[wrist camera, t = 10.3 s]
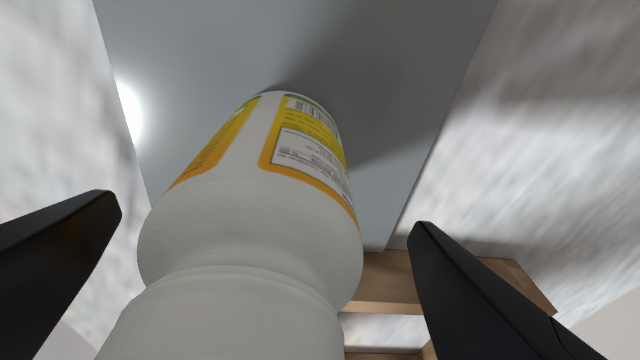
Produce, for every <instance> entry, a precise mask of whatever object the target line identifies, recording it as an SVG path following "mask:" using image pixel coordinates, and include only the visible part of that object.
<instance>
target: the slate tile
mask: <svg viewBox="0 0 640 360" xmlns="http://www.w3.org/2000/svg"><path fill="white" fill-rule="evenodd" d="M92 1H93V5H94V8H95V12H96V15H97V19H98V22H99V26H100V29H101V33H102V36H103V40H104V43H105V47H106V50H107V54H108V57H109V61H110V64H111V68H112V71H113V75H114V78H115V82H116V85H117V89H118V92H119V96H120V99H121V103H122V106H123V110H124V113H125V117H126V120H127V124H128V127H129V131H130V134H131V138H132V141H133V145H134V148H135V152H136V155H137V159H138V162H139V166H140V169H141V173H142V176H143V180H144V183H145V187H146V190H147V194H148V197H149V201H150V204H151V208H153V207H154V206H155V204H156V203H157V202H158V200H159V199H160V198H161V197H162V195H163V194H164V193H165V192H166V191H167V190H168V188H169V187H170V186H171V185H172V184H173V182H174V181H175V180H176V179H177V178H178V177H179V176H180V174H181V173H182V172H183V171H184V170H185V169H186V168H187V166H188V165H189V164H190V163H191V162H192V161H193V160H194V158H195V157H196V156H197V155H198V154H199V152H200V151H201V150H202V149H203V148H204V147H205V145H206V144H207V143H208V142H209V141H210V140H211V139H212V137H213V136H214V135H215V134H216V133H217V132H218V130H219V129H220V128H221V127H222V126H223V124H224V123H225V122H226V121H227V120H228V119H229V117H230V116H231V115H232V114H233V113H234V112H235V111H236V109H237V108H238V107H239V106H240V105H241V104H243V103H244V102H245V101H247V100H248V99H250V98H252V97H254V96H256V95H258V94H261V93H265V92H269V91H289V92H294V93H298V94H301V95H304V96H306V97H308V98H310V99H312V100H314V101H315V102H317V103H318V104H319V105H320V106H322V107H323V108H324V109H325V110H326V111H327V113H328V114H329V115H330V116H331V117H332V119H333V121H334V122H335V124H336V126H337V128H338V131H339V134H340V138H341V142H342V146H343V152H344V157H345V161H346V166H347V171H348V176H349V181H350V186H351V190H352V195H353V200H354V205H355V210H356V215H357V220H358V225H359V230H360V235H361V240H362V246H363V251H370V252H382V253H383V251H384V249H385V247H386V244H387V242H388V240H389V238H390V236H391V233H392V231H393V229H394V227H395V225H396V222H397V220H398V218H399V216H400V214H401V212H402V209H403V207H404V205H405V203H406V201H407V198H408V196H409V194H410V192H411V190H412V187H413V185H414V183H415V181H416V179H417V177H418V174H419V172H420V170H421V168H422V166H423V163H424V161H425V159H426V157H427V155H428V152H429V150H430V148H431V146H432V144H433V141H434V139H435V137H436V135H437V133H438V131H439V128H440V126H441V124H442V122H443V120H444V117H445V115H446V113H447V111H448V109H449V106H450V104H451V102H452V100H453V98H454V96H455V93H456V91H457V89H458V87H459V85H460V82H461V80H462V78H463V76H464V74H465V71H466V69H467V67H468V65H469V63H470V61H471V58H472V56H473V54H474V52H475V50H476V47H477V45H478V43H479V41H480V39H481V36H482V34H483V32H484V30H485V28H486V25H487V23H488V21H489V19H490V17H491V15H492V12H493V10H494V8H495V6H496V4H497V1H498V0H92Z"/></svg>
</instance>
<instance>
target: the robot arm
mask: <svg viewBox="0 0 640 360" xmlns="http://www.w3.org/2000/svg"><path fill="white" fill-rule="evenodd" d="M121 218H122V212H121V209H120V206H119V204H118V201H117V198H116V196H115V194H114V193H113V192H112V191H109V190H100V189H94V190H91V191H88V192H85V193H83V194H80V195H77V196H75V197H72V198H69V199H67V200H64V201H61V202H59V203H56V204H53V205H51V206H48V207H45V208H43V209H40V210H37V211H35V212H32V213H29V214H27V215H24V216H21V217H19V218H16V219H13V220H11V221H8V222H5V223H3V224H0V360H32V359H33V358H34V357H35V355H36V354H37V352H38V351H39V349H40V348H41V346H42V345H43V343H44V342H45V341H46V339H47V338H48V336H49V335H50V333H51V332H52V330H53V329H54V327H55V326H56V325H57V323H58V322H59V320H60V319H61V317H62V316H63V314H64V313H65V311H66V310H67V309H68V307H69V306H70V304H71V303H72V301H73V300H74V298H75V297H76V295H77V294H78V293H79V291H80V290H81V288H82V287H83V285H84V284H85V282H86V281H87V279H88V278H89V276H90V275H91V273H92V272H93V270H94V269H95V267H96V265H97V264H98V262H99V260H100V258H101V256H102V255H103V253H104V251H105V249H106V247H107V245H108V243H109V242H110V240H111V238H112V236H113V234H114V232H115V231H116V229H117V227H118V225H119V223H120V221H121ZM407 247H408V252H409V257H410V262H411V267H412V273H413V278H414V283H415V287H416V291H417V295H418V298H419V301H420V305H421V308H422V311H423V314H424V318H425V321H426V324H427V327H428V331H429V334H430V337H431V341H432V344H433V347H434V350H435V354H436V357H437V360H608V359H606V358H605V357H604V356H602V355H601V354H600V353H598V352H597V351H595V350H594V349H593V348H591V347H590V346H589V345H587V344H586V343H585V342H584V341H582V340H581V339H580V338H578V337H577V336H576V335H574V334H573V333H572V332H571V331H569V330H568V329H567V328H565V327H564V326H563V325H562V324H560V323H559V322H558V321H557V320H555V319H554V318H553V317H551V316H548V314H547V313H546V312H545V311H544V310H543V309H541V308H540V307H539V306H537V305H536V304H535V303H534V302H532V301H531V300H530V299H528V298H527V297H526V296H525V295H523V294H522V293H521V292H520V291H518V290H517V289H516V288H514V287H513V286H512V285H511V284H509V283H508V282H507V281H506V280H504V279H503V278H502V277H500V276H499V275H498V274H497V273H495V272H494V271H493V270H492V269H490V268H489V267H488V266H486V265H485V264H484V263H483V262H481V261H480V260H479V259H477V258H476V257H475V256H474V255H472V254H471V253H470V252H469V251H467V250H466V249H465V248H463V247H462V246H461V245H460V244H458V243H457V242H456V241H455V240H453V239H452V238H451V237H449V236H448V235H447V234H446V233H444V232H443V231H442V230H441V229H439V228H438V227H437V226H435V225H434V224H433V223H431V222H429V221H417V222H416V223H415V225H414V227H413V228H412V230H411V232H410V234H409V236H408V239H407Z"/></svg>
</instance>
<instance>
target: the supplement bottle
mask: <svg viewBox="0 0 640 360" xmlns="http://www.w3.org/2000/svg"><path fill="white" fill-rule="evenodd" d="M137 262H138V267H139V271H140V274H141V277H142V280H143V282H144V284H145V285H146V287H147V288H146V289H145V290H144V291H143V292H142V293H141V294H140V295H138V296H137V297H135V298H134V299H132V300H131V301H130V302H129V304H128V305H127V306H126V307H125V308H124V310H123V311H122V312H121V314H120V316H119V318H118V320H117V322H116V325H115V326H114V328H113V330H112V331H111V333H110V335H109V336H108V338H107V339H106V341H105V343H104V344H103V346H102V347H101V349H100V351H99V352H98V354H97V356H96V357H95V359H94V360H345V357H344V333H343V330H342V327H341V325H340V323H339V320H338V316H337V314H338V313H339V312H340V311H341V310H342V309H343V308H344V307H345V306H346V305H347V303H348V302H349V301H350V299H351V298H352V296H353V295H354V293H355V291H356V289H357V287H358V284H359V282H360V278H361V275H362V270H363V246H362V240H361V235H360V230H359V225H358V220H357V215H356V210H355V205H354V200H353V195H352V190H351V186H350V181H349V176H348V171H347V166H346V161H345V157H344V152H343V146H342V142H341V138H340V134H339V131H338V128H337V126H336V124H335V122H334V121H333V119H332V117H331V116H330V115H329V114H328V113H327V111H326V110H325V109H324V108H323V107H322V106H320V105H319V104H318V103H317V102H315V101H314V100H312V99H310V98H308V97H306V96H304V95H301V94H298V93H294V92H289V91H269V92H265V93H261V94H258V95H256V96H254V97H252V98H250V99H248V100H247V101H245V102H244V103H243V104H241V105H240V106H239V107H238V108H237V109H236V111H235V112H234V113H233V114H232V115H231V116H230V117H229V119H228V120H227V121H226V122H225V123H224V124H223V126H222V127H221V128H220V129H219V130H218V132H217V133H216V134H215V135H214V136H213V137H212V139H211V140H210V141H209V142H208V143H207V144H206V145H205V147H204V148H203V149H202V150H201V151H200V152H199V154H198V155H197V156H196V157H195V158H194V160H193V161H192V162H191V163H190V164H189V165H188V166H187V168H186V169H185V170H184V171H183V172H182V173H181V174H180V176H179V177H178V178H177V179H176V180H175V181H174V182H173V184H172V185H171V186H170V187H169V188H168V190H167V191H166V192H165V193H164V194H163V195H162V197H161V198H160V199H159V200H158V202H157V203H156V204H155V206H154V207H153V208H152V210H151V211H150V213H149V214H148V216H147V218H146V219H145V221H144V224H143V226H142V229H141V231H140V235H139V239H138V246H137Z"/></svg>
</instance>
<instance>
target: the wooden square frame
mask: <svg viewBox="0 0 640 360" xmlns="http://www.w3.org/2000/svg"><path fill="white" fill-rule="evenodd" d="M476 258H477V259H479V260H480V261H481V262H483V263H484V264H485V265H486V266H488V267H489V268H490V269H492V270H493V271H494V272H495V273H497V274H498V275H499V276H500V277H502V278H503V279H504V280H506V281H507V282H508V283H509V284H511V285H512V286H513V287H514V288H516V289H517V290H518V291H520V292H521V293H522V294H523V295H525V296H526V297H527V298H528V299H530V300H531V301H532V302H534V303H535V304H536V305H537V306H539V307H540V308H541V309H543V310H544V311H545V312H546V313H547V314H548V316H551V317H552V316H553V315H554V314H556V313H557V312H558V311H557V310H556V309H555V308H554V306H553V305H552V304H551V303H550V302H549V300H548V299H547V298H546V297H545V296H544V294H543V293H542V292H541V291H540V290H539V288H538V287H537V286H536V285H535V284H534V282H533V281H532V280H531V279H530V278H529V276H528V275H527V274H526V273H525V271H524V270H523V269H522V268H521V267H520V265H519V264H518V263H517V262H516V261H515V260H510V259H498V258H486V257H476ZM341 311H343V312H364V313H384V314H405V315H424V314H423V311H422V308H421V305H420V301H419V298H418V295H417V291H416V287H415V283H414V278H413V273H412V267H411V262H410V257H409V252H408V251H399V250H387V249H384V251H383V253H382V252H370V251H363V270H362V275H361V278H360V282H359V284H358V287H357V289H356V291H355V293H354V295H353V296H352V298H351V299H350V301H349V302H348V303H347V305H346V306H345V307H344V308H343V309H342V310H341ZM344 357H345V360H437V357H436V354H435V350H434V347H433V344H432V341H431V339H430V340H429V341H428V342H427V344H426V345H425V346H424V347H423V348H422V349H421V350H420V352H419V353H418V354H417V355H407V354H370V353H344Z"/></svg>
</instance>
